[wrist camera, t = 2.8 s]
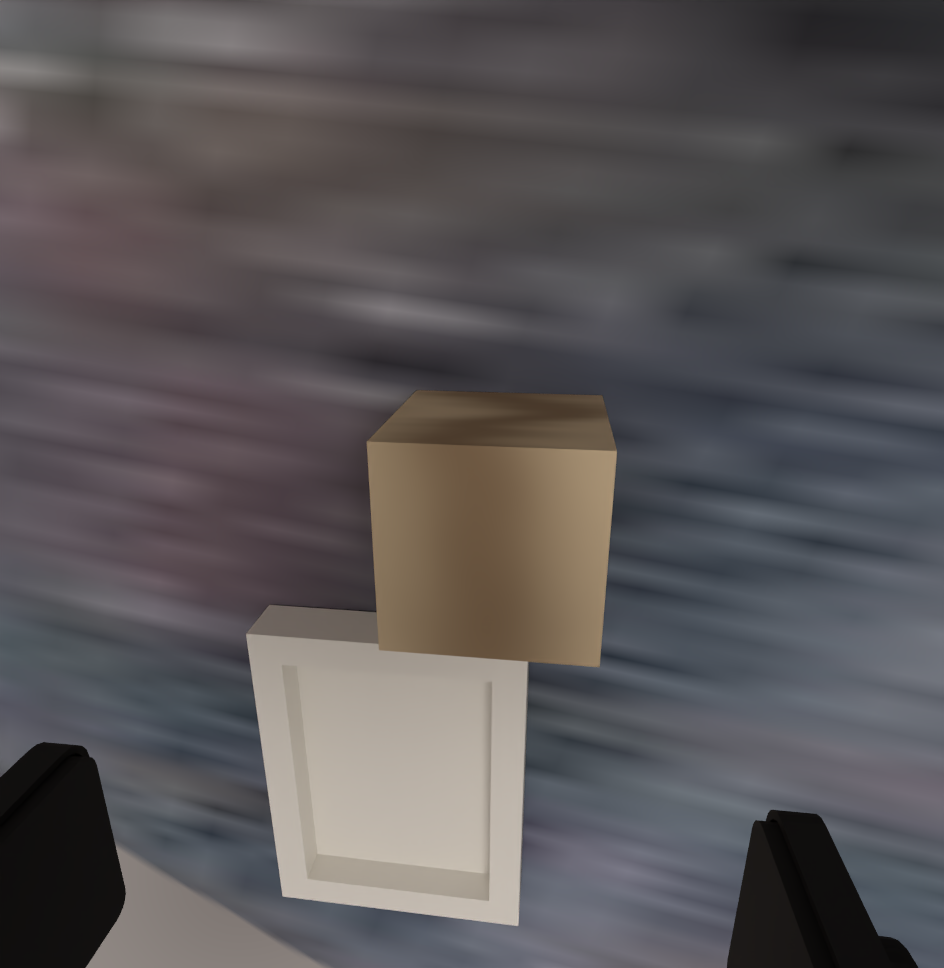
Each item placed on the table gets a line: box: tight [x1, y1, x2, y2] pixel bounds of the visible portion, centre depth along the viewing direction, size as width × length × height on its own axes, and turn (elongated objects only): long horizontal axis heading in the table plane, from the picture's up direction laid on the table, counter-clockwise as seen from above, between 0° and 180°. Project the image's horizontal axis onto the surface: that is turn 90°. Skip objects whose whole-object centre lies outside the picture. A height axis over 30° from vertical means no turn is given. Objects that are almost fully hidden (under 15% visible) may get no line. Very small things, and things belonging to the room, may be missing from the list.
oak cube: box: [367, 390, 617, 667], centre depth 19 cm, size 6×6×6 cm
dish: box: [246, 605, 529, 926], centre depth 26 cm, size 10×13×2 cm
